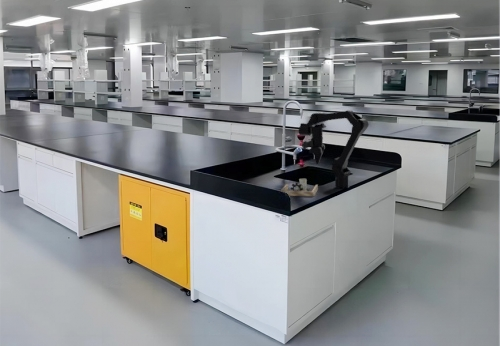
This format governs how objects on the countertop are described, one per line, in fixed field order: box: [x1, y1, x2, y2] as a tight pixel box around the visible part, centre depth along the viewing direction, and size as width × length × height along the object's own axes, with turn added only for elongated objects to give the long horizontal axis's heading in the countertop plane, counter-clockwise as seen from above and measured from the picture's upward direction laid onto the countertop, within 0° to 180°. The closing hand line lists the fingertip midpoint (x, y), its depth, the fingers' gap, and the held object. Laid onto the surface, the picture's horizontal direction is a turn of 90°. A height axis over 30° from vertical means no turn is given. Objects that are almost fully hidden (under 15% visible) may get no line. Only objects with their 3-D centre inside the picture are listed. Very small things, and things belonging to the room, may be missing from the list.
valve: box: [290, 178, 308, 191], centre depth 224 cm, size 7×7×12 cm
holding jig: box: [279, 183, 319, 197], centre depth 225 cm, size 17×16×2 cm
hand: (317, 163), depth 239 cm, fingers closed
